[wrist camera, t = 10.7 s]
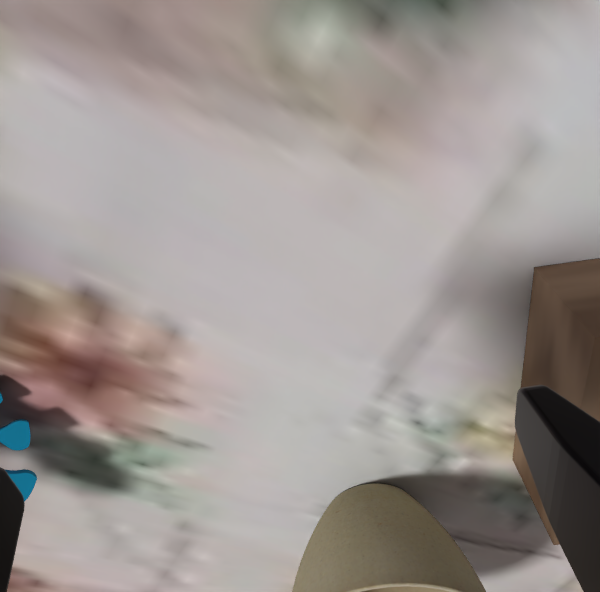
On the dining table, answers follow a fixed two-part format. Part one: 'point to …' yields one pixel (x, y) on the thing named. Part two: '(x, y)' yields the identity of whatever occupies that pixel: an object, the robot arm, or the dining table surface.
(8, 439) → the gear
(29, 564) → the dining table surface
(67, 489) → the dining table surface
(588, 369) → the walnut stand
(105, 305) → the dining table surface
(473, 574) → the beige bowl
